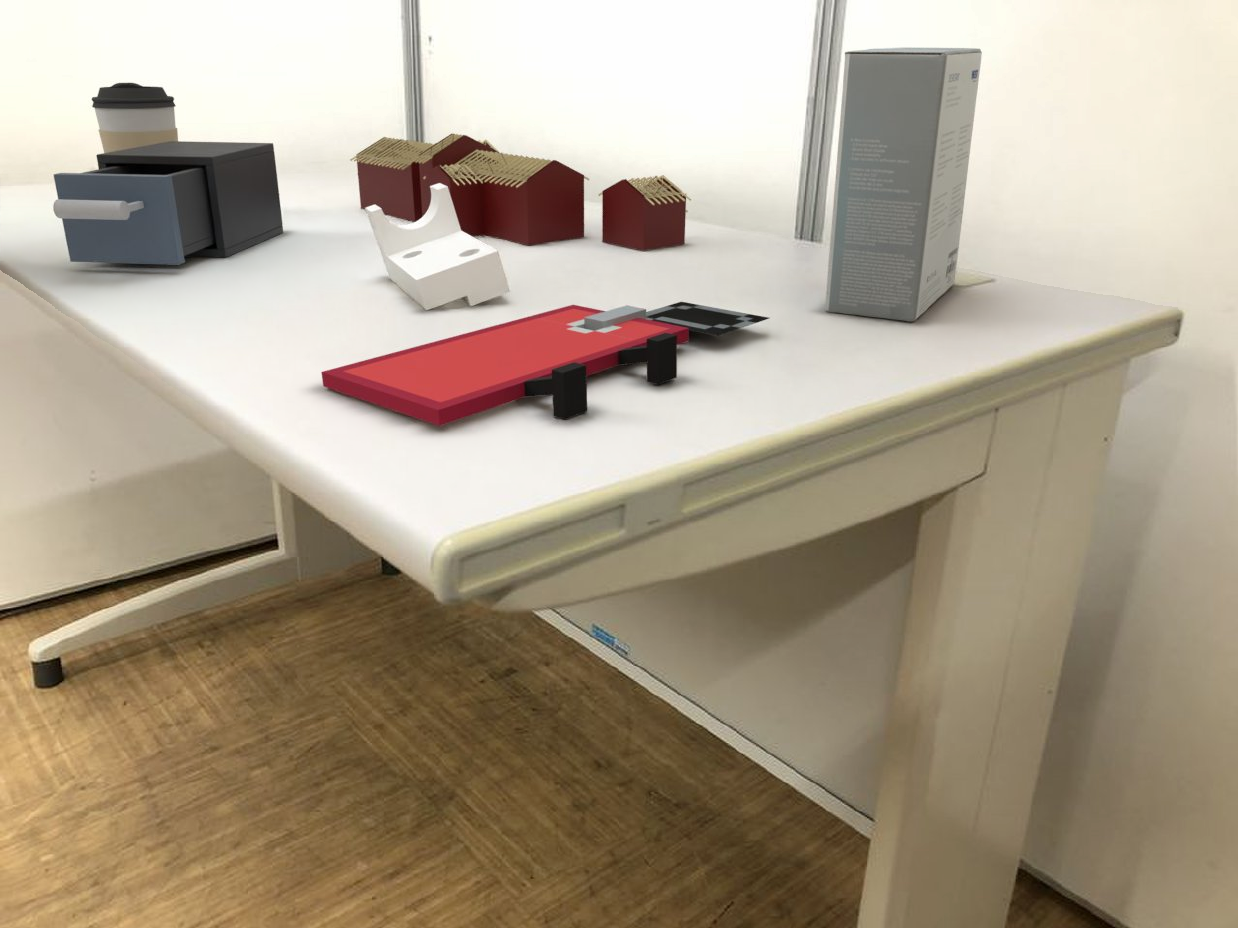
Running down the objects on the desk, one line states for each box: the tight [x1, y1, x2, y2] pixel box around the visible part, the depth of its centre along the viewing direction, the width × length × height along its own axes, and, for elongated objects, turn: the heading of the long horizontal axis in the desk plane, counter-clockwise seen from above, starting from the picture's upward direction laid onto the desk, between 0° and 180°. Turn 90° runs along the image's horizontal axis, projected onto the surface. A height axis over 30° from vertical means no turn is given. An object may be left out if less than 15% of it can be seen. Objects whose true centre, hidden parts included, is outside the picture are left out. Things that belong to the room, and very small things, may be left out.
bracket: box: [364, 183, 511, 311], centre depth 87 cm, size 13×7×8 cm, turn 25°
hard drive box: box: [824, 46, 983, 322], centre depth 84 cm, size 16×8×20 cm, turn 152°
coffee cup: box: [91, 82, 179, 153], centre depth 123 cm, size 9×9×15 cm
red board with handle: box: [321, 301, 770, 427], centre depth 69 cm, size 30×3×15 cm
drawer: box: [52, 164, 216, 266], centre depth 96 cm, size 18×10×8 cm, turn 175°
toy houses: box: [349, 133, 692, 252], centre depth 118 cm, size 45×20×10 cm, turn 42°
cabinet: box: [96, 140, 284, 259], centre depth 106 cm, size 15×12×10 cm
